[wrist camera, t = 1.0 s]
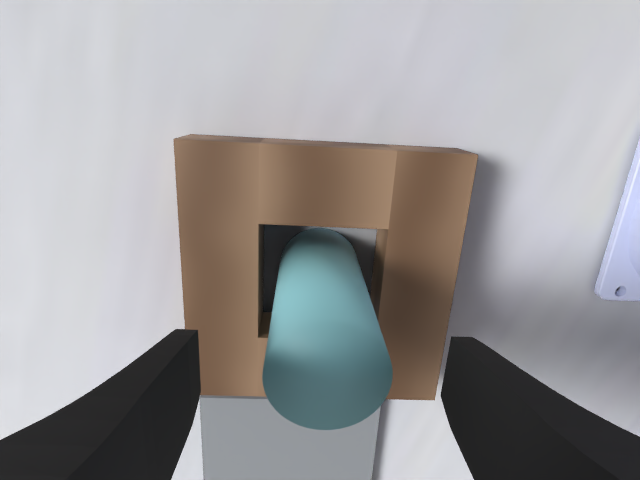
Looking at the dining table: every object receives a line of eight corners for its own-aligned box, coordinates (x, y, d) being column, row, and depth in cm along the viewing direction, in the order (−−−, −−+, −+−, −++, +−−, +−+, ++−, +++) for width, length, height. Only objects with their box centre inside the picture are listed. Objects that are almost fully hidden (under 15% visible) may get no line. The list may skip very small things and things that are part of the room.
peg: (360, 229, 18) (399, 322, 10) (353, 300, 19) (385, 431, 11) (281, 226, 18) (262, 318, 10) (279, 298, 19) (261, 428, 11)
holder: (456, 148, 17) (478, 154, 15) (421, 369, 20) (434, 400, 18) (190, 134, 16) (173, 138, 14) (201, 364, 20) (189, 394, 18)
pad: (379, 393, 21) (381, 401, 20) (362, 531, 24) (363, 542, 23) (202, 389, 20) (199, 397, 20) (209, 531, 24) (206, 541, 23)
